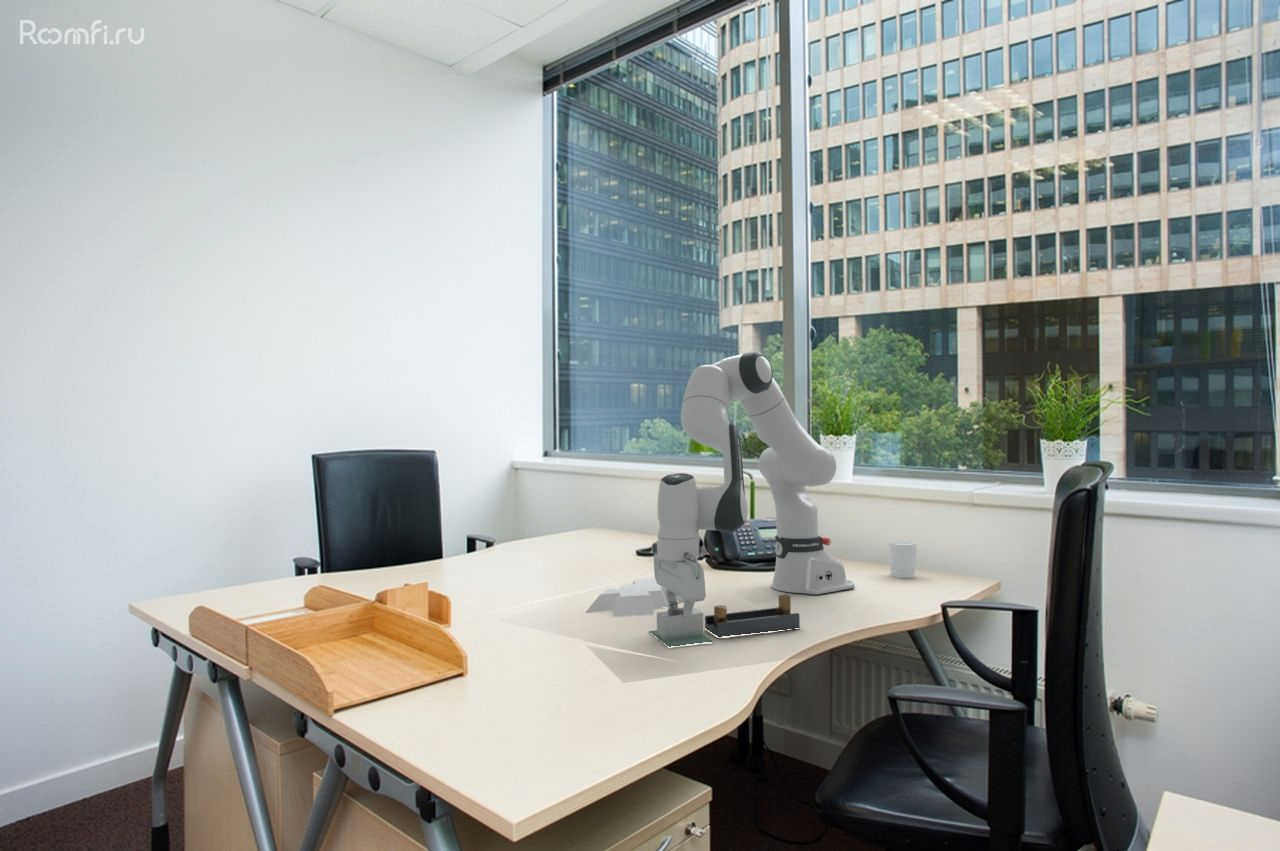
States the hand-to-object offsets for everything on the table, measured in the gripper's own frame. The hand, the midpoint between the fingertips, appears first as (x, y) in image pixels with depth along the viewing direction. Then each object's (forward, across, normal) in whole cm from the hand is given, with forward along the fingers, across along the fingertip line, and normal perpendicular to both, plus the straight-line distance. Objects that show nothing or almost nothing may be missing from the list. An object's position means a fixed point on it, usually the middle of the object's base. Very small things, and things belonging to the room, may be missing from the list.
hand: (679, 613), depth 167 cm
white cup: (+6, +33, -84) cm, 91 cm away
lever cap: (+5, 0, 0) cm, 5 cm away
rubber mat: (+6, 0, 0) cm, 6 cm away
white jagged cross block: (+6, +30, -2) cm, 31 cm away
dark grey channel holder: (+6, 0, -18) cm, 18 cm away
